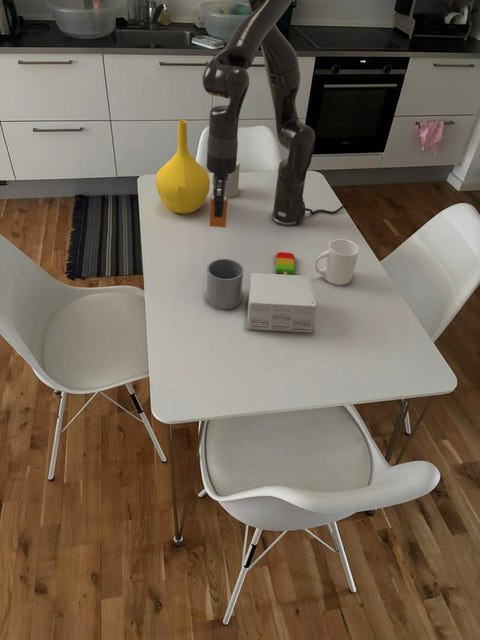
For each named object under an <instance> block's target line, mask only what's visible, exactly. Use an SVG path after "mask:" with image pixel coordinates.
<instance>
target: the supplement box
mask: <svg viewBox="0 0 480 640" xmlns="http://www.w3.org/2000/svg"><path fill="white" fill-rule="evenodd" d="M313 282H314V281H313V276H312V275H298V274H287V275H284V274H282V273H262V272H261V273H260V272H250V275H249V285H248V296H247V326H246V327H247V328H246V329H247V330H256V331H257V330H258V331H272V332H273V331H274V332H275V331H276V332H290V333H291V332H292V333H309V334H310V333H312V331H313V325H314V320H315V316H316V311H317V301H316V295H315V289H314V283H313Z"/></svg>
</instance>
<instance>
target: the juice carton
mask: <svg viewBox="0 0 480 640" xmlns="http://www.w3.org/2000/svg"><path fill="white" fill-rule="evenodd" d="M228 199H229V198H228V195H227V194H226V196H225V197H224V205H223V215H222V217H215V216H214V209H215V205H214V204H213V202H214V196H213V192H212V193H211V195H210V207H209V227H215V228H226V227H227V216H228V215H227V214H228V202H229V201H228Z"/></svg>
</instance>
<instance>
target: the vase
mask: <svg viewBox="0 0 480 640" xmlns="http://www.w3.org/2000/svg"><path fill="white" fill-rule="evenodd" d="M187 126H188V123H187V121H186V120H184V119H180V120H178V121H177V150H176V152H175V154H173V156H172V157H171V158H170V159H169V160H168V161H167V162H166V163H165V164H164V165H162V167H161V168H160V169H158V171H157V172H156V173H157V174H156V179H155V188H156V190H157V193H158V196H159V198H160V200H161V202H162V203H163V204H164V205H165V207H166V208H168V210H169V211H171V212H173V213H175V214H180V215H181V214H182V215H184V214H185V215H186V214H192V213H194V212H196V211H197V210H199V208H201V207H202V206H203V204H204V203H205V201H207V198H208V194H209V192H210V189H211V188H210V187H211V180H210V174H209V173H208V171H207V170H206V168H204V167H203V166H202V165H201V164H200V163H199V162H198V161H197V160H196V158H194V157H193V156H192V155H191V153H190V152H189V149H188V127H187Z"/></svg>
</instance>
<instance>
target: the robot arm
mask: <svg viewBox="0 0 480 640" xmlns="http://www.w3.org/2000/svg"><path fill="white" fill-rule="evenodd" d="M292 1H293V0H247V2H248V5H249V9H250V12H251V13H250V14H249V15H248V16H246V17H245V18H244V19H243V20H241V22H239V24H238V25H237V26H236V27H235V28H234V30H233V32H232V34H231V36H230V37H229V39H228V41H227V44H226V46H225V47H223V48H222V49H221V50H220V51H219V52H218V53H217V54H216V55H215V56H214V57H213V58H212V59H211V60H209V62H208V64H207V65H206V66H205V68H204V71H203V74H202V78H201V79H202V81H201V82H202V87H203V90H204V91H205V92H206V93H207V94H208V95H210V96H214V97H217V98H218V97H219V98H223V99H227V100H228V99H229V103H228V104H224V105H223V104H221V105H215V106H213V107H211V109H210V111H209V118H208V119H209V120H208V137H207V143H206V144H207V145H206V169H207V170H208V171H209V172H210V173H211V174H212V173H213V175H212V176H213V177H212V193H213V196H214V202H213V204H214V205H215V209H214V216H215V217H222V215H223V205H224V197H225V196H226V190H227V185H228V177H229V175H228V174H231V173H233V172H234V171H235V170H236V161H237V159H238V146H239V142H238V141H239V140H238V139H239V138H238V134H239V133H238V131H239V119H240V115H241V110H242V106H243V103H244V101H245V98H246V95H247V94H248V93H247V92H248V90H249V86H250V76H249V72H248V71H247V70H249V69H250V67H251V66H252V65H253V62H254V61H255V58H256V56H257V54H258V51H259V50H260V49H261V52H262V58H263V63H264V69H265V73H266V78H267V83H268V87H269V90H270V91H269V92H270V96H271V101H272V105H273V110H274V118H275V119H274V120H275V129H276V137H277V141H278V143H279V145H280V146H281V147H282V148H283V149H284V150H286V151H288V156H287V158H286V159H283V160H281V161H280V162H279V163H278V167H277V176H276V183H275V185H276V186H275V191H274V192H275V193H274V202H273V208H272V209H273V210H272V215H271V219H272V220H273V222H274V223H276V224H278V225H280V226H295V225H300V224H301V223H300V222H301V217H305V215H306V212H309V213H310V215H314V214H316V213H320V212H321V213H325V214H336V213H339V212H340V211H341V210H342V209H343V208H344V209H348V206H347V205H345V204H343V205H341V206H340V207H338V208H337V209H336V210H334V211H333V210H332V211H331V210H326V209H316V210H312V209H311V208H306V204H305V200H304V192H305V191H304V190H305V184H306V177H307V172H308V170H309V167H310V165H311V163H312V158H313V153H314V149H315V144H316V133H315V131H314V129H313V128H312V127H310V126H309V125H307V124H306V123H304V122H302V121H301V120H300V118H299V115H298V111H297V110H298V109H297V106H296V105H297V103H296V99H297V95H298V92H299V89H300V87H301V86H300V85H301V72H300V71H301V70H300V64H299V59H298V58H299V57H298V55H297V53H296V50H295V49H294V48H293V46H292V45H291V44H290V42H289V41H288V40H287V38H286V37H285V35H283V33H282V32H281V31H280V30H279V28H278V27H277V23H278V21H279V20H280V19H281V17H282V16H283V15H284V14H285V12H286V11H287V10H288V8H289V7H290V5H291V3H292Z"/></svg>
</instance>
